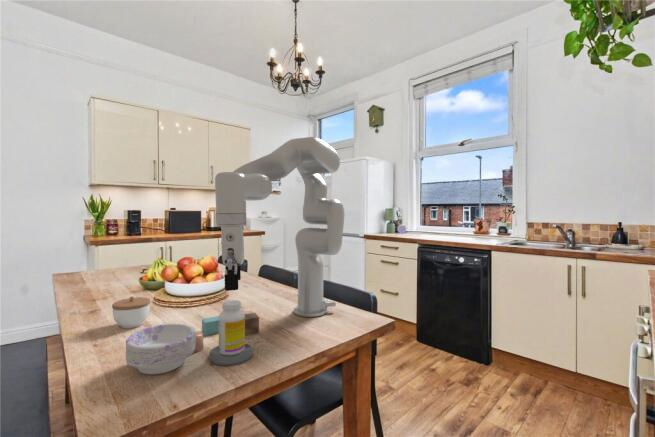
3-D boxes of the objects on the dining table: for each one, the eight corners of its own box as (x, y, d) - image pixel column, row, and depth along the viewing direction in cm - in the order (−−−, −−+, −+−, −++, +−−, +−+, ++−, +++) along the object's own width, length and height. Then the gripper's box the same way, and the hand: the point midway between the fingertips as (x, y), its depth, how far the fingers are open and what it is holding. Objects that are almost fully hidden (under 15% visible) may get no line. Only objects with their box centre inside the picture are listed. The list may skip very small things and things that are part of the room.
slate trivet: (253, 345, 91) (253, 340, 91) (252, 363, 80) (252, 359, 80) (212, 348, 88) (212, 344, 88) (206, 368, 78) (206, 363, 78)
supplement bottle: (250, 349, 85) (250, 301, 85) (230, 359, 80) (230, 308, 79) (233, 343, 89) (233, 297, 88) (213, 352, 83) (212, 303, 83)
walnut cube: (254, 327, 104) (254, 312, 104) (259, 333, 99) (259, 317, 99) (239, 330, 102) (239, 314, 101) (242, 336, 97) (242, 319, 97)
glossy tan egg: (199, 343, 91) (199, 330, 90) (206, 348, 88) (205, 334, 88) (185, 348, 88) (184, 334, 87) (191, 354, 85) (190, 339, 85)
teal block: (221, 327, 104) (221, 315, 104) (225, 331, 101) (225, 318, 101) (201, 331, 101) (201, 319, 100) (205, 335, 97) (205, 322, 97)
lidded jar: (145, 317, 113) (145, 290, 113) (154, 325, 105) (154, 297, 105) (109, 324, 105) (108, 296, 105) (116, 334, 98) (116, 303, 97)
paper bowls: (182, 380, 72) (182, 346, 72) (112, 383, 71) (111, 348, 70) (203, 350, 87) (203, 321, 87) (145, 352, 86) (145, 323, 86)
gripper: (244, 222, 75) (246, 293, 76) (247, 217, 92) (248, 276, 93) (211, 223, 74) (213, 295, 75) (220, 218, 91) (222, 277, 92)
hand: (233, 284), depth 84 cm, fingers open, 9 cm apart
